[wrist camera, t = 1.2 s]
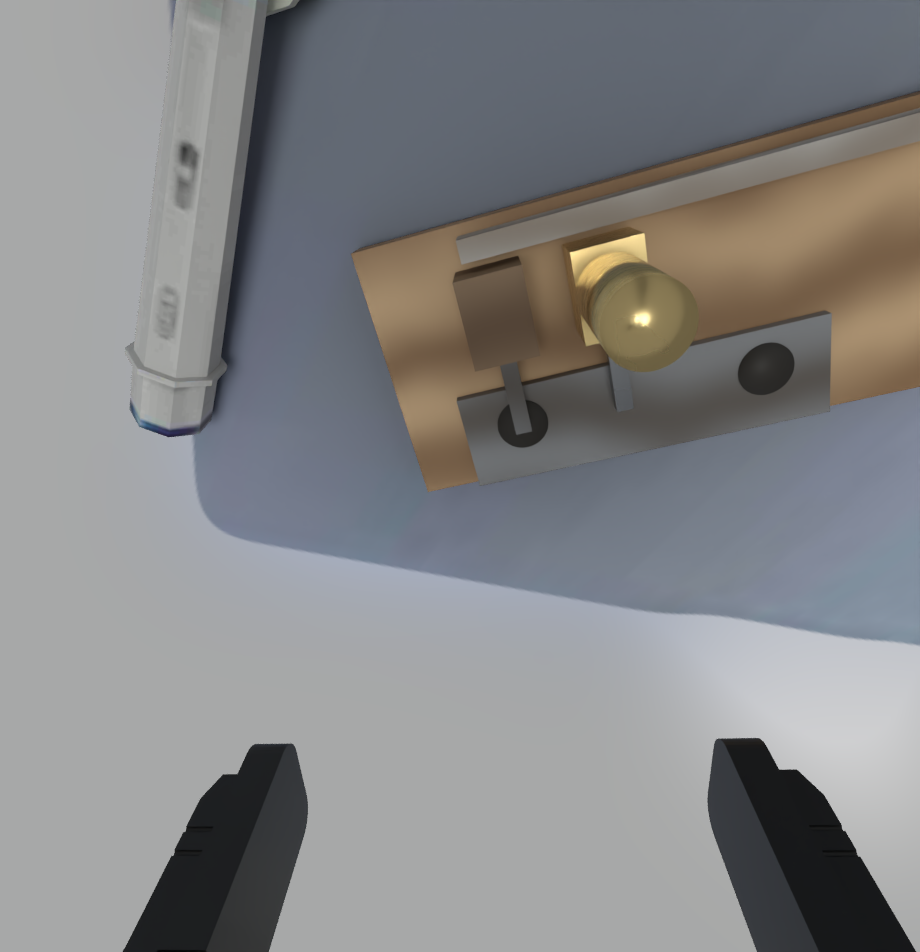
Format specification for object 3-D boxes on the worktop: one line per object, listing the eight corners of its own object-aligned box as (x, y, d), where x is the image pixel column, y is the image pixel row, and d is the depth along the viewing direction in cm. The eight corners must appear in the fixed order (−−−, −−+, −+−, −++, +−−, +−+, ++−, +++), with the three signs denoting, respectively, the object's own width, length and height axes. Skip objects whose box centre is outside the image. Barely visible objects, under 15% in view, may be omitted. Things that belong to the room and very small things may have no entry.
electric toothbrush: (99, 416, 30) (120, -320, 16) (164, 363, 36) (222, -222, 22) (201, 453, 31) (305, -223, 17) (249, 394, 36) (359, -152, 22)
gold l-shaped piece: (559, 244, 27) (591, 276, 19) (630, 225, 27) (693, 250, 19) (587, 406, 30) (624, 490, 22) (650, 391, 30) (711, 472, 22)
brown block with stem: (455, 272, 28) (452, 283, 25) (518, 255, 27) (521, 264, 25) (494, 425, 31) (495, 449, 29) (550, 413, 31) (556, 436, 28)
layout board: (359, 248, 29) (341, 259, 26) (977, 74, 25) (1057, 59, 22) (430, 475, 35) (424, 509, 32) (945, 363, 31) (1005, 388, 27)
